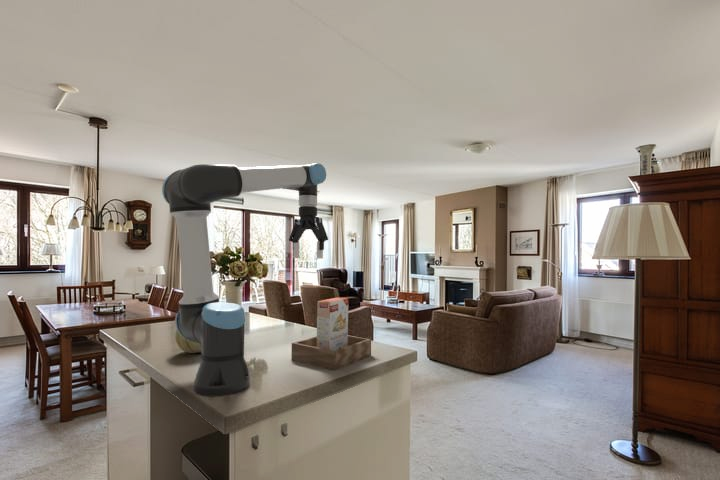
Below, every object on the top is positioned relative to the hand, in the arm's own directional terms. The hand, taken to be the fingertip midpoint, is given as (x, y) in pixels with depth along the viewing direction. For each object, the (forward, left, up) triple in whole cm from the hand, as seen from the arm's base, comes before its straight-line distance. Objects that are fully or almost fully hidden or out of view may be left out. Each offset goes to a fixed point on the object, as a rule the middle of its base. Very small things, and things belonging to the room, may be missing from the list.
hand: (307, 258), depth 147 cm
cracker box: (-4, -17, -36) cm, 40 cm away
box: (-4, -16, -37) cm, 40 cm away
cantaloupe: (-30, +31, -37) cm, 56 cm away
